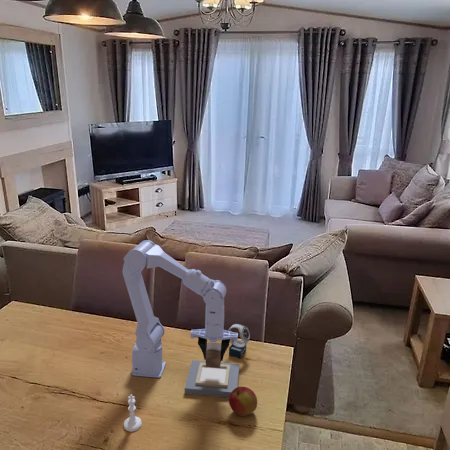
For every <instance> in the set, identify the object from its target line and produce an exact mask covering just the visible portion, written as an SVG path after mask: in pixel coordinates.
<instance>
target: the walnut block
mask: <svg viewBox="0 0 450 450" xmlns="http://www.w3.org/2000/svg"><path fill="white" fill-rule="evenodd" d="M205 361H206V367H211V368H220V365H221V363H222V361H221V342H210V341H207V348H206V360H205Z"/></svg>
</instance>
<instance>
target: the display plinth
mask: <svg viewBox="0 0 450 450" xmlns="http://www.w3.org/2000/svg"><path fill="white" fill-rule="evenodd" d="M190 363H191V364H190V367H189V370H188V374H187V379H186V380H185V381H186V382H185V385H184V394H187V395H195V396H197V395H198V396H209V397H217V398H218V397H219V398H221V397H222V398H229V396H230V393H231V392H232V391H233V390H234V389H235V388H237V387H239V375H240V364H239V363H232V362H231V363H230V362H221V365H220V368H211V367H206V360H194V359H192V360H191V362H190Z"/></svg>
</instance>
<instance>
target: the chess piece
mask: <svg viewBox="0 0 450 450" xmlns="http://www.w3.org/2000/svg"><path fill="white" fill-rule="evenodd" d="M135 398H136V396H134V395H133V394H132V393H131V394H130V396H128V397H127V403H128V405H129V406H128V408H127V410H128V411H129V417H127V418H126V419H125V420H124V422H123V429H124V430H126V431H128V432H136V431H138V430H139V429H141V427H142V425H143V424H142V423H143V422H142V419H141V418H140V417H139V416H136V415H135V414H136V413H135V410H136V409H137V406H136V405H135V404H136V399H135Z"/></svg>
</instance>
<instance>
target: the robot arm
mask: <svg viewBox="0 0 450 450" xmlns="http://www.w3.org/2000/svg"><path fill="white" fill-rule="evenodd" d="M123 261H124V262H123V265H122V269H121V270H122V276H123V280H124V282H125V286H126V289H127V293H128V295H129V299H130V303H131V306H132V309H133V312H134V315H135V319H136V322H137V326H136V328H135V336H136V338H135V339H136V340H135V344H134V346H133V347H132V352H131V367H132V373H131V375H132V376H135V377H144V378H145V377H146V378H158V379H160V378H161V377H162V375H163V372H164V369H165V366H166V364H167V362H166V361H163V343H162V338H163V337H164V335H165V332H166V331H165V328H164V326H163V325H162V324H161V322H160V319H159V317H158V316H157V317H156V316H155V315H154V312H153V309H152V305H151V302H150V299H149V294H148V292H147V289H146V284H145V282H144V278H143V275H142V271H143V270H144V268H145V267H146V269H153V268H158V267H159V268H161V269H163V270H165V271H166V272H168V273H170V274H172V275H174V276H175V277H178V278H179V279H181V280H182V284H183V285H184V286H185V287H186V288H188V289H190V290H191V291H193V292H194V293H195V294H197V295H199V296H200V297H202V299H203V302H204V304H205V316H204V317H205V321H204V327H205V328H201V329H200V328H199V329H198V328H197V329H191V330H190V339H195V338H196V339H197V345H198V346H199V348H200V350H201V352H202V355H203V361H206V348H207V343H208V340H209V342H212V343H217V341H221V342H220V343H221V362H223V361H224V358H225V357H224V355H225V353H226V351H227V349H229V347H230V344H231V343H230V340H234V342H237V341H239V340H238V339H239V338H238V337H239V332H233V331H231V332H230V331H228V330H226V329H225V328H224V326H225V296H226V294H227V286H226V285H225V284H224V282H222V280H219V279H216V280H215V279H211V278H209V277H208V276H206V275H205V274H203V273H202V271H201V270H200V269H195V268H192V269H189V268H187V267H186V266H184V265H182V264H181V263H180V262H178V261H177V260H176V259H174V258H173V257H172V256H171V255H169V254H168V253H166V252H165V251H164V250H163V249H162V247H161V246H160V245H158V244H155V242H153V241H152V240H148V239H146V240H145V239H144V240H142V241H140V243H138V244H137V245H136V246H135V247H133V249H130V250H129V251H128V252H127V253H126V255H125V256H124V257H123Z"/></svg>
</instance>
